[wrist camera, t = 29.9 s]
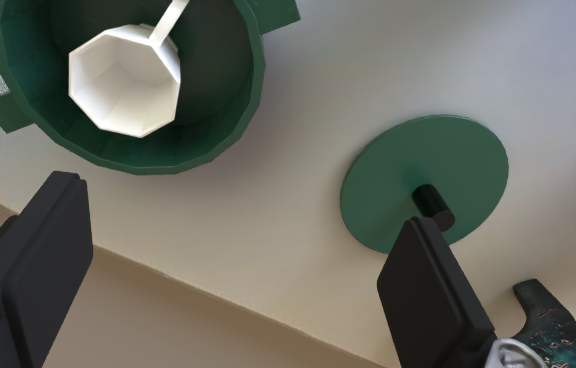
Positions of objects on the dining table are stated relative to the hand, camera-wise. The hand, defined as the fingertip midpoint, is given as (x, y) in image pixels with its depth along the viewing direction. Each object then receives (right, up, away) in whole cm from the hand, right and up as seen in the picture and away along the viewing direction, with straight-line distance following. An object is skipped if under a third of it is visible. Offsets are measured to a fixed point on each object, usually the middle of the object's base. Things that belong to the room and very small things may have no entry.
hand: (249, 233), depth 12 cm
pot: (-9, +13, +20) cm, 25 cm away
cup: (-9, +13, +19) cm, 25 cm away
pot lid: (+15, +1, +30) cm, 33 cm away
